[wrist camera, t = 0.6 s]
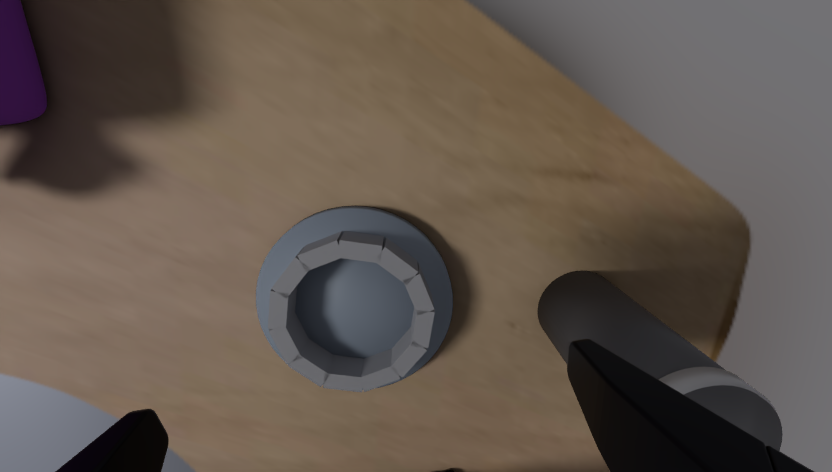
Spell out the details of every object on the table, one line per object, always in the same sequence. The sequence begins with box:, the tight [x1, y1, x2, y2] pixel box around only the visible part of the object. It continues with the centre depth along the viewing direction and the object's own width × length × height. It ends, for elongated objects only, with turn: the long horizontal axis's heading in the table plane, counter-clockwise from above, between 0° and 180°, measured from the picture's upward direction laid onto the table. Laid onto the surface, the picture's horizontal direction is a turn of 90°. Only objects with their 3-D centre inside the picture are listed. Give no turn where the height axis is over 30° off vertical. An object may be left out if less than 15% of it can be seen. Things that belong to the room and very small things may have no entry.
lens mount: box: [256, 206, 453, 392], centre depth 24 cm, size 12×12×3 cm
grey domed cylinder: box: [538, 271, 782, 451], centre depth 21 cm, size 5×5×12 cm
